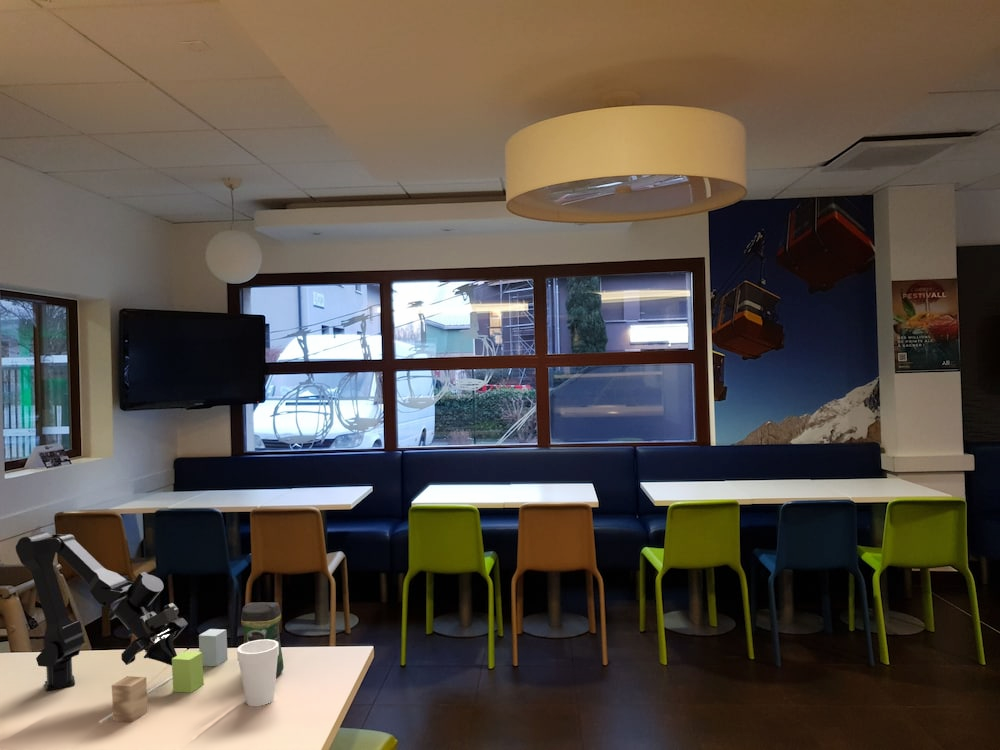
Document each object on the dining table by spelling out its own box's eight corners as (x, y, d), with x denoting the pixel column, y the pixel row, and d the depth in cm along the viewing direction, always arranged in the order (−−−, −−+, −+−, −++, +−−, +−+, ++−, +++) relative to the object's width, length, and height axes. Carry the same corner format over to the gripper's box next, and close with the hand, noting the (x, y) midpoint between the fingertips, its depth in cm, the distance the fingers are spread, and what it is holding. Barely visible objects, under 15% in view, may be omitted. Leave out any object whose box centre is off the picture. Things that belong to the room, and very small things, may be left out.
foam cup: (268, 710, 177) (266, 654, 177) (231, 708, 179) (229, 653, 179) (287, 693, 186) (285, 640, 186) (252, 691, 188) (250, 638, 188)
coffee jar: (287, 668, 202) (284, 598, 202) (275, 680, 195) (272, 607, 194) (252, 668, 203) (249, 598, 203) (239, 680, 196) (236, 607, 195)
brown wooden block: (113, 720, 172) (111, 685, 172) (128, 710, 177) (127, 676, 177) (132, 722, 171) (130, 686, 171) (147, 712, 176) (146, 677, 176)
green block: (173, 691, 187) (171, 658, 187) (185, 683, 192) (184, 651, 192) (191, 692, 186) (189, 659, 186) (203, 684, 191) (202, 652, 191)
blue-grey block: (199, 665, 203) (198, 635, 203) (211, 658, 208) (209, 628, 208) (216, 666, 202) (215, 636, 202) (227, 659, 207) (226, 629, 207)
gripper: (129, 608, 181) (172, 657, 179) (179, 586, 200) (219, 629, 197) (102, 640, 183) (144, 689, 181) (154, 615, 201) (193, 659, 199)
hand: (177, 665), depth 189 cm, fingers closed
